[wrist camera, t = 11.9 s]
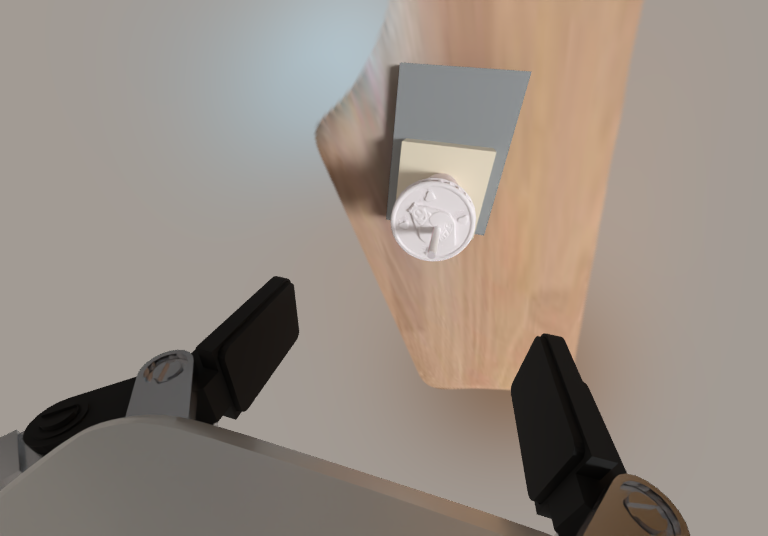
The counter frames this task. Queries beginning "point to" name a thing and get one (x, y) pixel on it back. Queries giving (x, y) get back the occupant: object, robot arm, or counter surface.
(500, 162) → the base board
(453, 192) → the smoothie
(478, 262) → the counter surface
